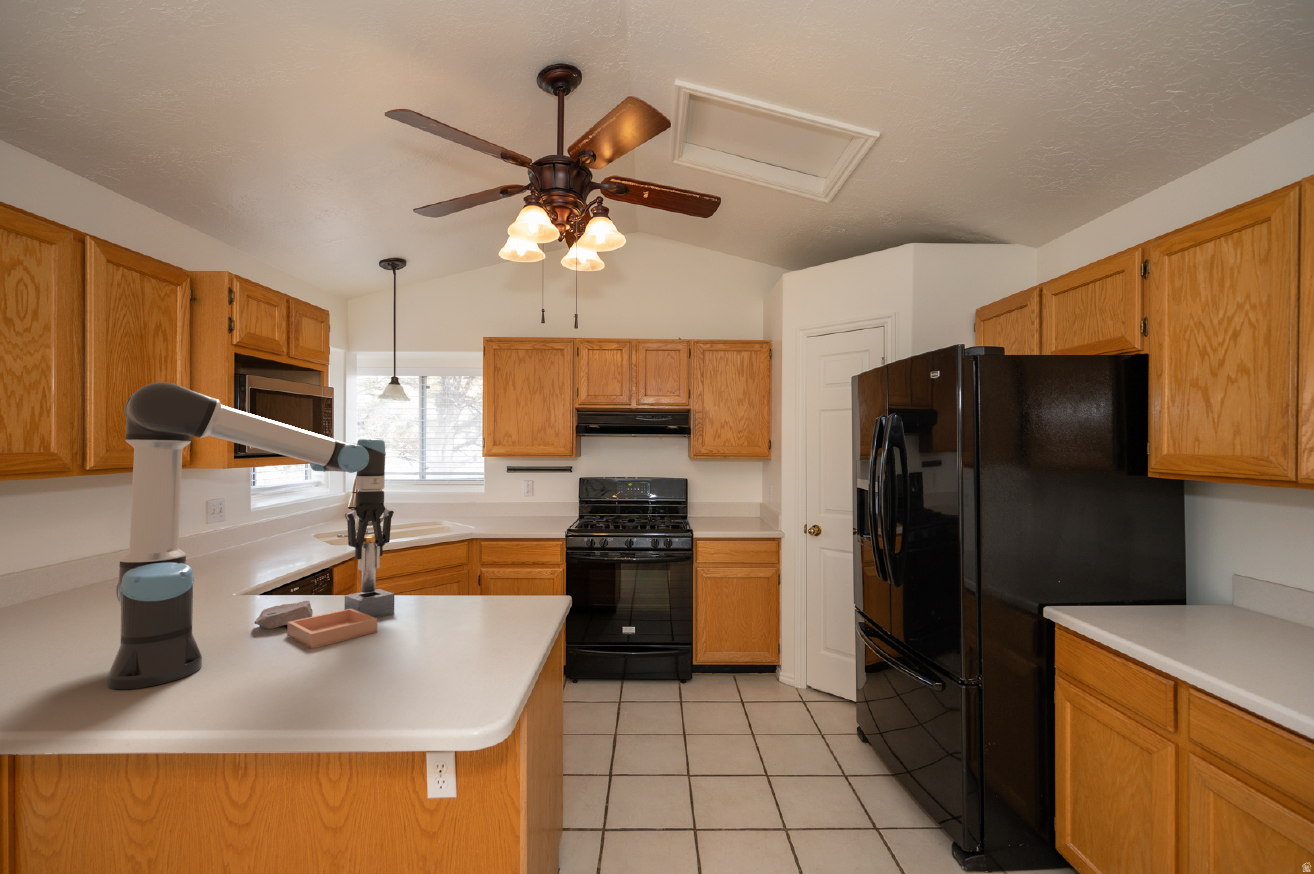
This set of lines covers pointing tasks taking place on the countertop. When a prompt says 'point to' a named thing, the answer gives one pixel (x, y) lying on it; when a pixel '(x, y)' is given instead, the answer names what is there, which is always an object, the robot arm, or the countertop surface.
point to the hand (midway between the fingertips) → (368, 568)
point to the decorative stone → (283, 614)
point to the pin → (369, 565)
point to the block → (371, 603)
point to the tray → (331, 627)
